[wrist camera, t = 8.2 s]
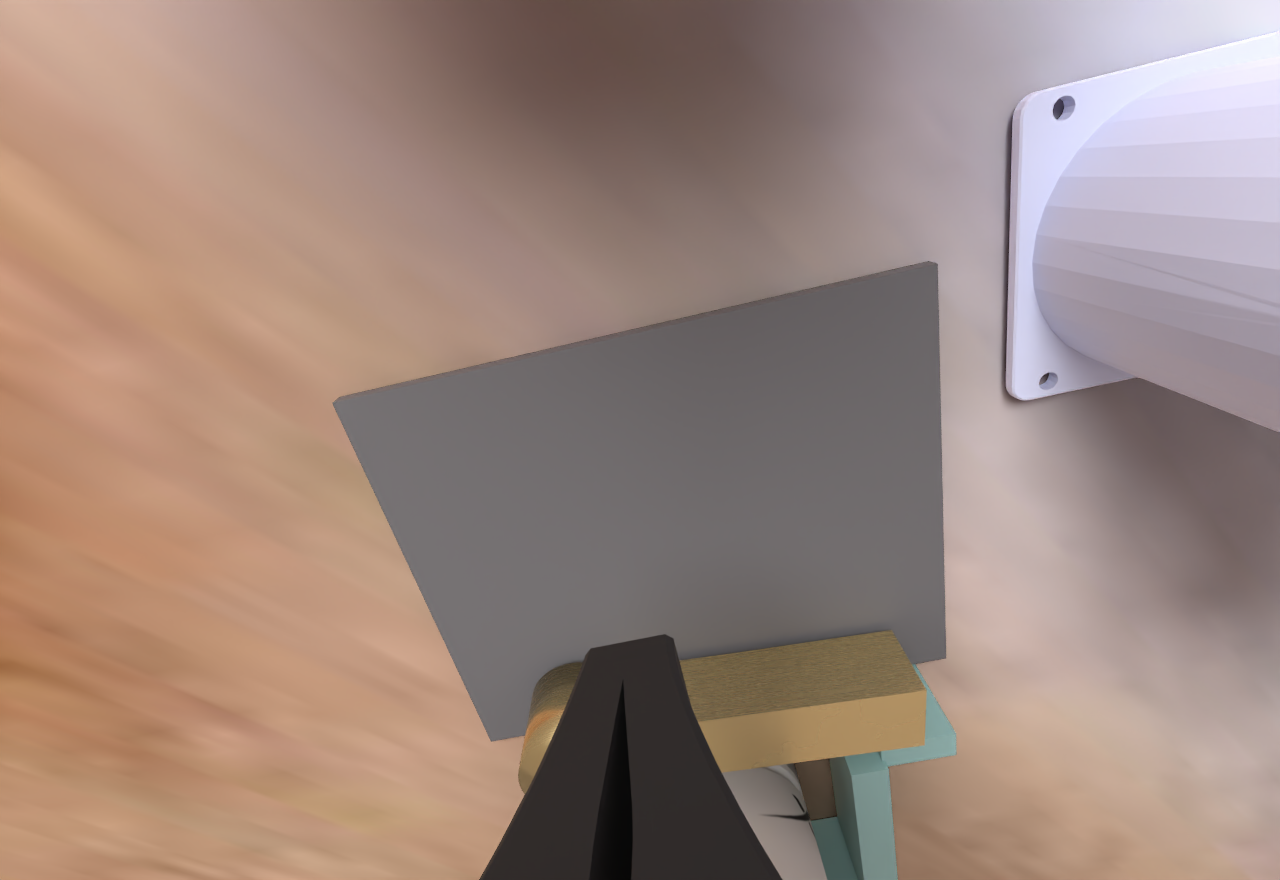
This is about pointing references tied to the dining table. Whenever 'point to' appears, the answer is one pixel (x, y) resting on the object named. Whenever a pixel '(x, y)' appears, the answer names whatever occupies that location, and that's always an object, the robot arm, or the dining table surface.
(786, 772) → the travel mug
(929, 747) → the mug holder
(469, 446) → the plate
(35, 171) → the dining table surface
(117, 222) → the dining table surface
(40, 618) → the dining table surface
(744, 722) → the swing latch
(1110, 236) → the robot arm
